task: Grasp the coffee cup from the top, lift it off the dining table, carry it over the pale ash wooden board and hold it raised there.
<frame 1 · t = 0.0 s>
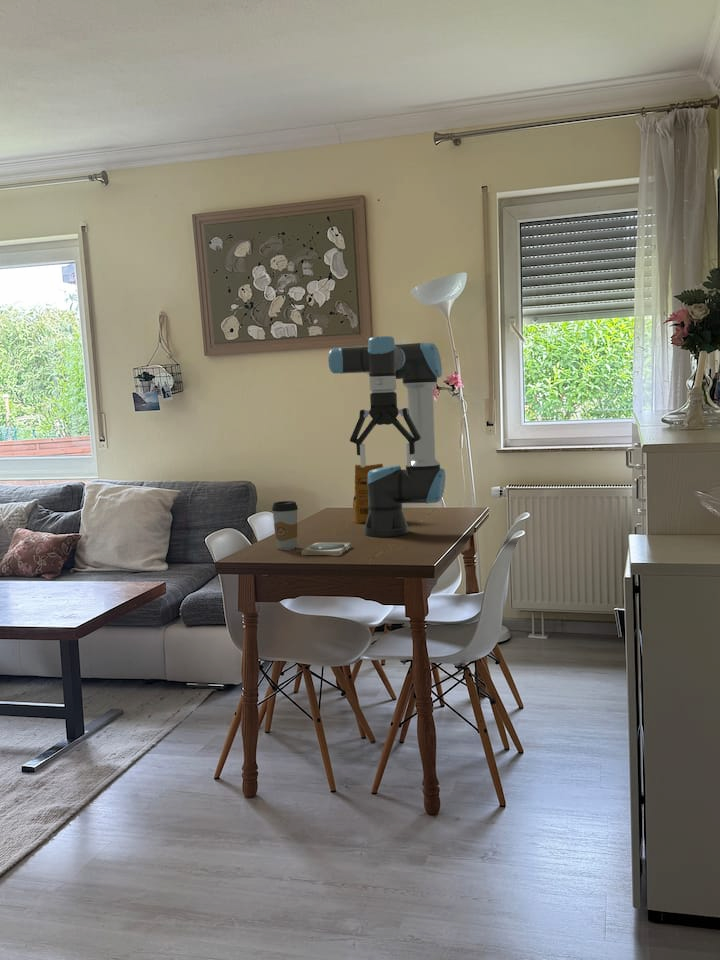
hand: (386, 466, 245), 28 cm above the table, tool pointing down, fingers open, 13 cm apart
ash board: (327, 551, 270), on the table
coffee package: (369, 522, 327), on the table
coffee cup: (287, 549, 278), on the table
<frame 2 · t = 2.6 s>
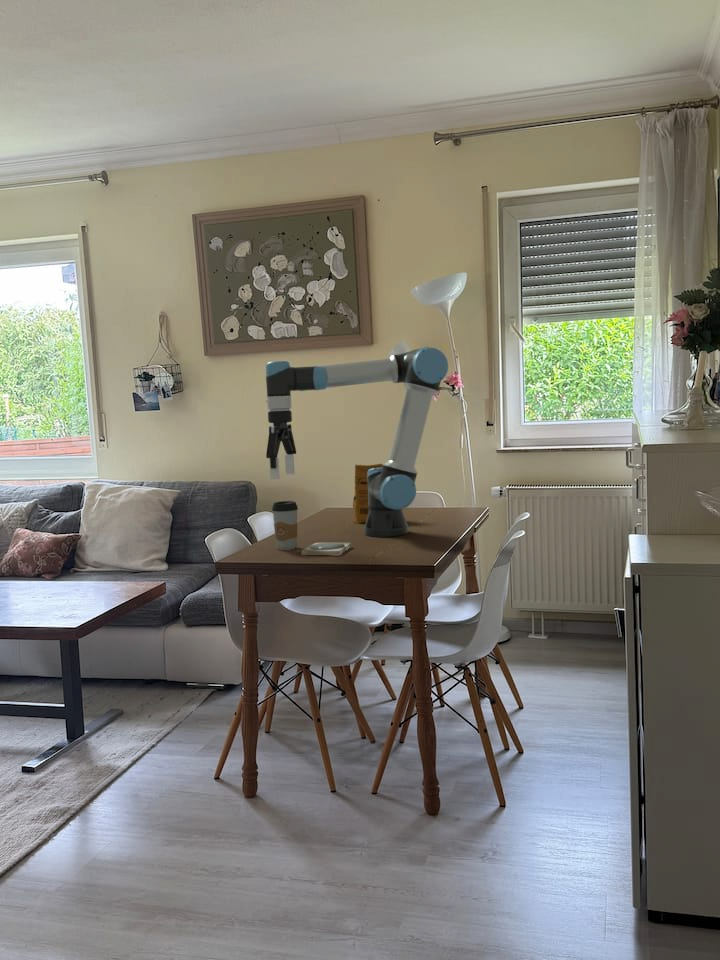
hand: (282, 476, 276), 23 cm above the table, tool pointing down, fingers open, 13 cm apart
nothing on the table moved.
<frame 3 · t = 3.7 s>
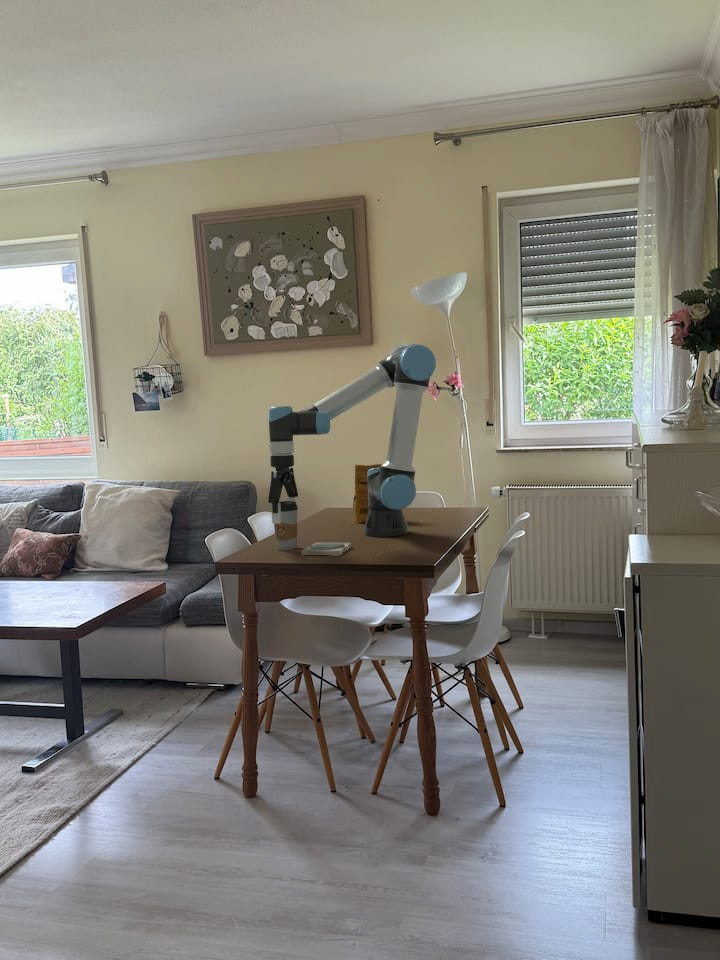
hand: (284, 520, 277), 9 cm above the table, tool pointing down, fingers open, 13 cm apart
nothing on the table moved.
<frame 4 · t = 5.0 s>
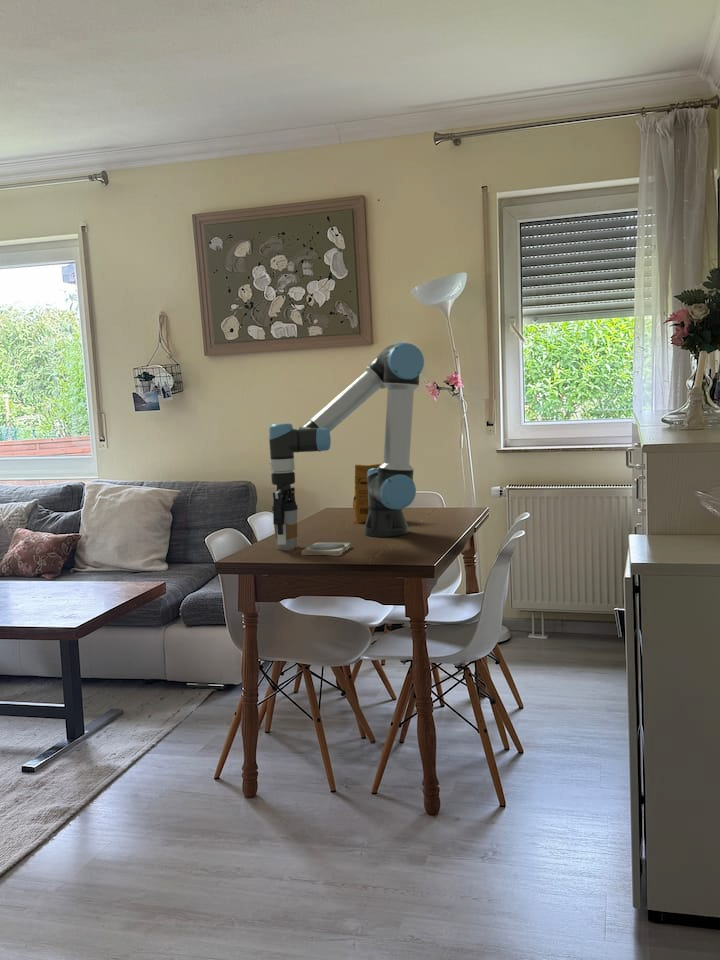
hand: (286, 541, 278), 2 cm above the table, tool pointing down, fingers closed on coffee cup, 8 cm apart
coffee cup: (287, 549, 278), on the table, touching gripper
everything else where it was.
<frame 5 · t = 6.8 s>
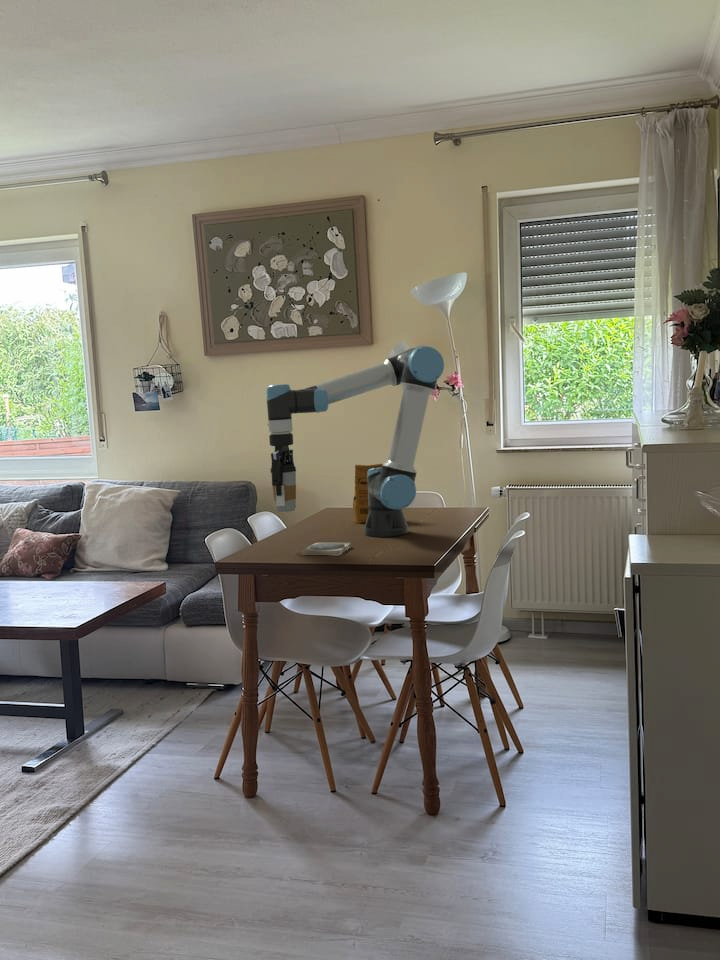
hand: (285, 503, 277), 15 cm above the table, tool pointing down, fingers closed on coffee cup, 7 cm apart
coffee cup: (285, 511, 277), point 12 cm above the table, touching gripper
everything else where it was.
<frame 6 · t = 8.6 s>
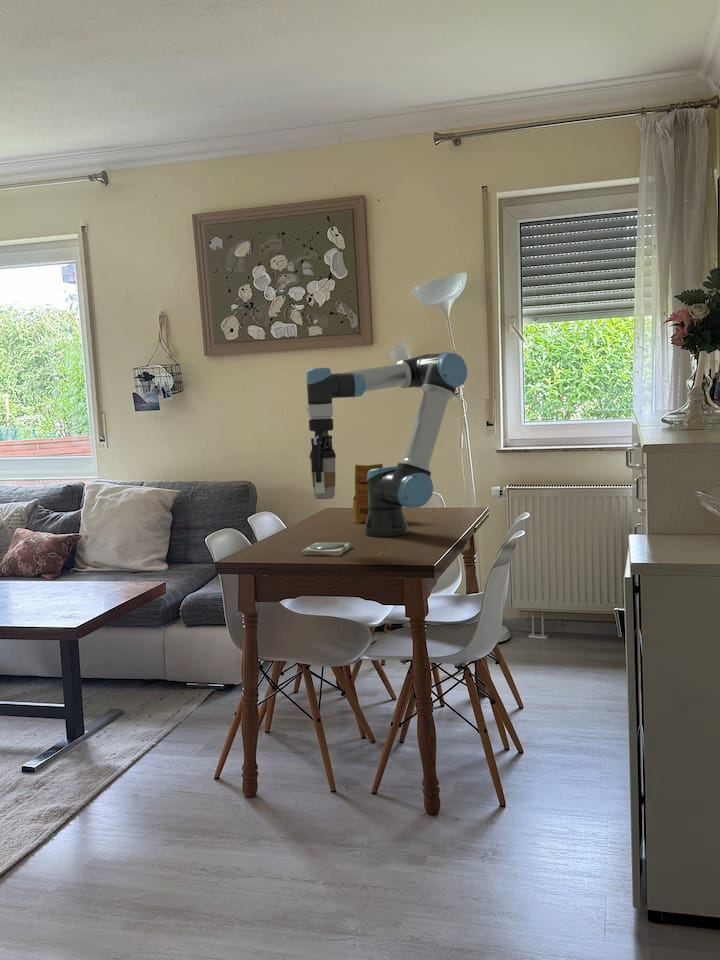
hand: (324, 491, 268), 19 cm above the table, tool pointing down, fingers closed on coffee cup, 7 cm apart
coffee cup: (324, 498, 269), point 17 cm above the table, touching gripper
everything else where it was.
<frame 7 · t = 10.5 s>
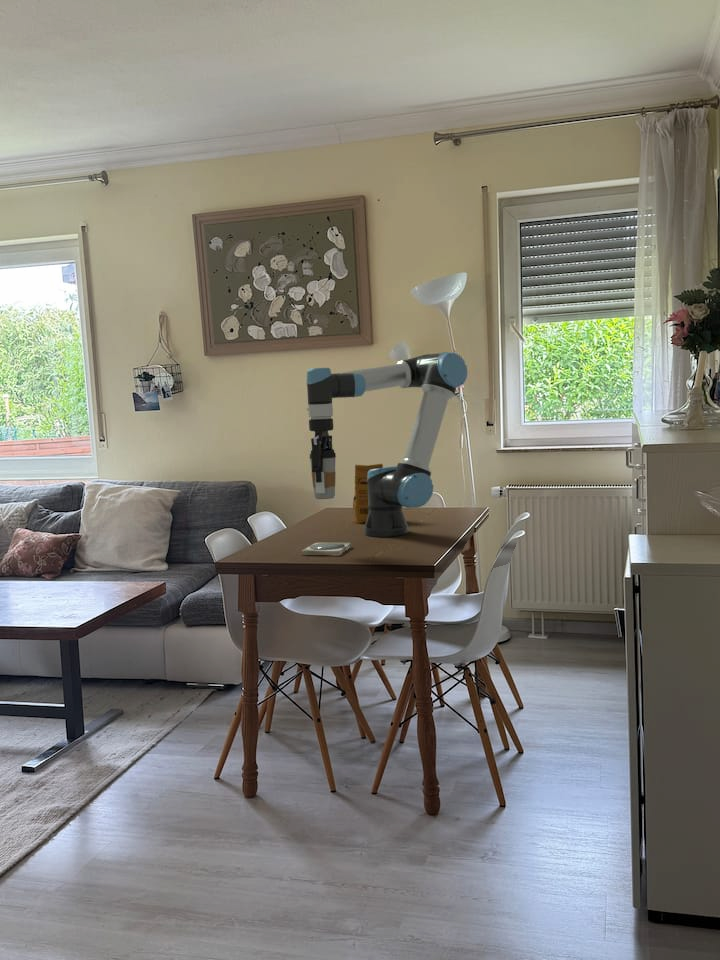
hand: (324, 491, 268), 19 cm above the table, tool pointing down, fingers closed on coffee cup, 7 cm apart
coffee cup: (324, 498, 269), point 17 cm above the table, touching gripper
everything else where it was.
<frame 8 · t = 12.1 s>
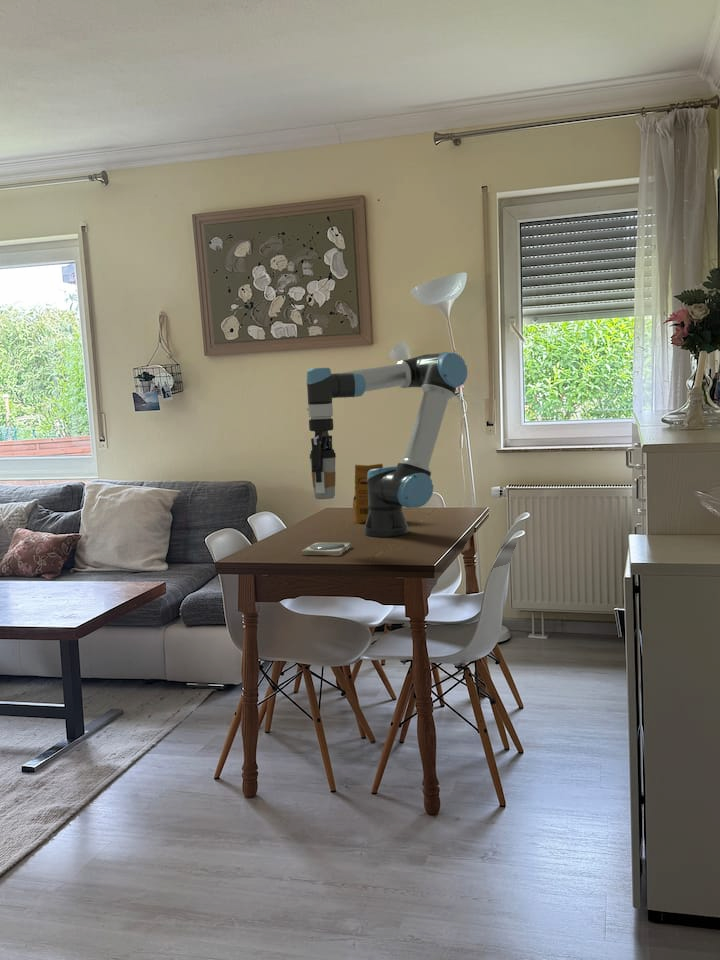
hand: (324, 491, 268), 19 cm above the table, tool pointing down, fingers closed on coffee cup, 7 cm apart
coffee cup: (324, 498, 269), point 17 cm above the table, touching gripper
everything else where it was.
at the end: the gripper is holding coffee cup; coffee cup point 16.7 cm above the table; coffee cup inside the target area on the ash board (0.0 cm from its centre), point 16.7 cm above the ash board's base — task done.
